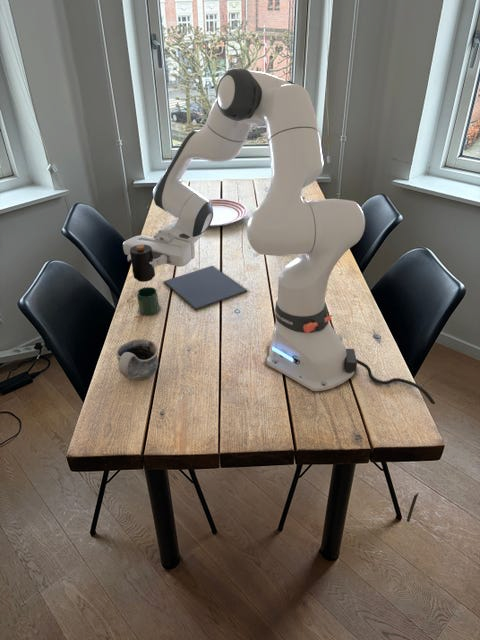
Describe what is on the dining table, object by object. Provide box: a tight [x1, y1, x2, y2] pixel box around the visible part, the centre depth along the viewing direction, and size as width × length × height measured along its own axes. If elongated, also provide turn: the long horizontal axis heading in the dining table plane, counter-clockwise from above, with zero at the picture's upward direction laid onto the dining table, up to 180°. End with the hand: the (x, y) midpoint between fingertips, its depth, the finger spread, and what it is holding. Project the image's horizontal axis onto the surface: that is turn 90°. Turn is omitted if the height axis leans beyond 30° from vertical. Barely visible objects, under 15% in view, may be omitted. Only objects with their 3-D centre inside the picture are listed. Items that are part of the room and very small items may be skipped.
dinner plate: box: [206, 198, 248, 227], centre depth 195 cm, size 27×27×3 cm
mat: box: [163, 265, 248, 311], centre depth 148 cm, size 20×18×1 cm
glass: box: [136, 286, 160, 316], centre depth 135 cm, size 6×6×6 cm
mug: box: [115, 338, 159, 381], centre depth 109 cm, size 10×12×10 cm
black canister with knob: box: [130, 245, 156, 283], centre depth 128 cm, size 6×6×10 cm
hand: (140, 262), depth 128 cm, fingers closed on black canister with knob, 6 cm apart
